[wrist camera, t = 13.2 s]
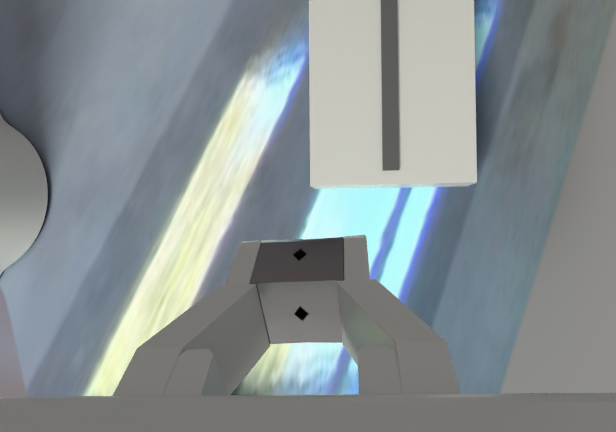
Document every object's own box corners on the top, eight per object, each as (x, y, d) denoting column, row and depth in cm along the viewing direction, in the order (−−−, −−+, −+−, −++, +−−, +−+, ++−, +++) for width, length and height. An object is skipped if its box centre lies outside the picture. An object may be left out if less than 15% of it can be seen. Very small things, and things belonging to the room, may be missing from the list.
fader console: (467, 186, 33) (477, 182, 29) (315, 189, 35) (309, 185, 31) (462, -140, 33) (471, -179, 30) (313, -119, 35) (307, -153, 32)
